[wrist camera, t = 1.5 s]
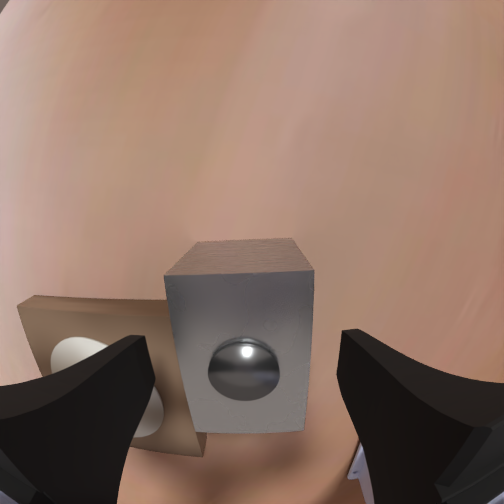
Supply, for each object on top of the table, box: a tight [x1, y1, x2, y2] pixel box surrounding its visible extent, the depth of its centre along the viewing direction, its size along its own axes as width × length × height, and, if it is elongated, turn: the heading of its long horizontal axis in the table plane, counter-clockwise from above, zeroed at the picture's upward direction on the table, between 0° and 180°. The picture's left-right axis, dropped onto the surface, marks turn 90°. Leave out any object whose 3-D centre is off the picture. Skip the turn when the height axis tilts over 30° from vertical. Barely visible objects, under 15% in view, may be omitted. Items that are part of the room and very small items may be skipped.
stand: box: [17, 295, 207, 457], centre depth 14 cm, size 11×11×2 cm
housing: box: [164, 238, 314, 433], centre depth 11 cm, size 7×4×6 cm, turn 3°
